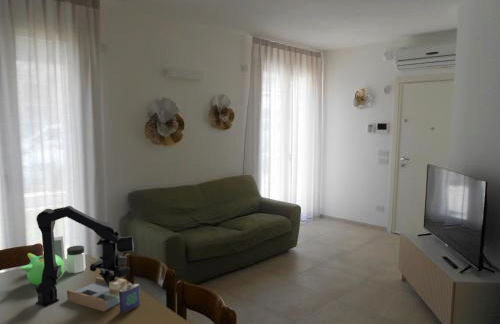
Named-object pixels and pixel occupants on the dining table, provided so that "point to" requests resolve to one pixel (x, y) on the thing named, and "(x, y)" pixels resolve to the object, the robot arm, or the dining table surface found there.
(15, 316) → the dining table surface
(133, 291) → the blue green box
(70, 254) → the jar
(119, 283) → the block
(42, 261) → the toy bird
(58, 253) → the skincare box
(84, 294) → the box
